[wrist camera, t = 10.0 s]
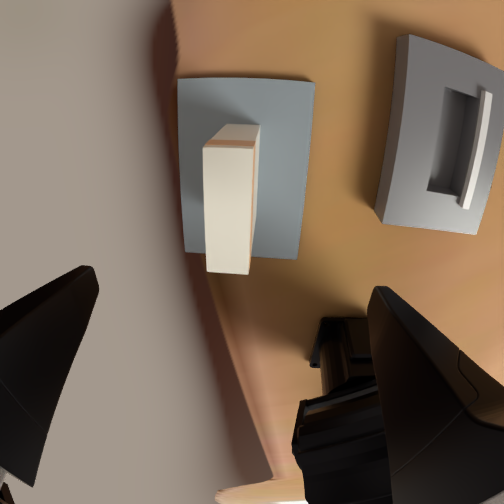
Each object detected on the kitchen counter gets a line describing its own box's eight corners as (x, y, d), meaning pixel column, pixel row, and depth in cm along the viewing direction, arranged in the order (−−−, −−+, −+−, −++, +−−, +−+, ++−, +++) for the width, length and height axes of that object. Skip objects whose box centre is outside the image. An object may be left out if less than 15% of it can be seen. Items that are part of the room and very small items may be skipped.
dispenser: (463, 222, 20) (479, 238, 18) (373, 210, 20) (384, 227, 18) (493, 72, 14) (514, 75, 11) (396, 37, 14) (412, 33, 12)
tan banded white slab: (256, 216, 20) (248, 275, 15) (225, 214, 21) (206, 271, 15) (260, 124, 17) (253, 148, 12) (226, 123, 17) (202, 147, 12)
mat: (296, 255, 23) (296, 259, 22) (187, 247, 23) (185, 252, 22) (313, 82, 16) (315, 82, 16) (180, 78, 16) (177, 79, 16)
